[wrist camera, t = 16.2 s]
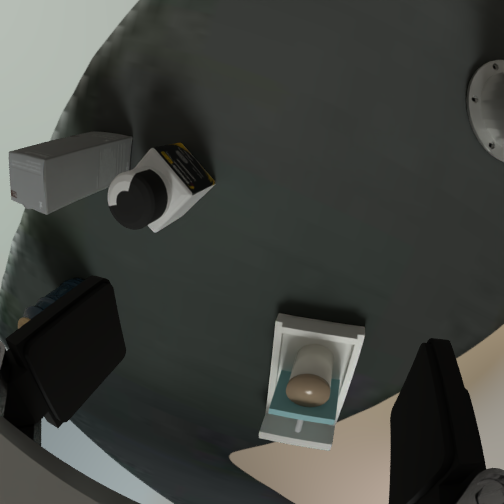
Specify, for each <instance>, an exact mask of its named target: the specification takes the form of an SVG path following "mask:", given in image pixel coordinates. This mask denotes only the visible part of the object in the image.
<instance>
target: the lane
mask: <svg viewBox="0 0 504 504" xmlns="http://www.w3.org/2000/svg"><path fill="white" fill-rule="evenodd" d="M364 337H365V327H362V326H355V325H349V324H342V323H336V322H329V321H323V320H317V319H311V318H305V317H299V316H293V315H287V314H281V313H279V314H278V316H277V319H276V322H275V332H274V342H273V352H272V361H271V371H270V380H269V389H268V397H267V406H266V414H265V417H264V420H263V423H262V426H261V428H260V431H259V438H262V439H267V440H271V441H276V442H281V443H286V444H291V445H297V446H302V447H308V448H314V449H321V450H328V451H329V450H330V448H331V446H332V442H333V435H334V428H335V424H336V422H337V419H338V416H339V414H340V411H341V408H342V405H343V403H344V400H345V397H346V394H347V391H348V388H349V385H350V382H351V379H352V376H353V373H354V370H355V367H356V364H357V361H358V357H359V354H360V351H361V347H362V344H363V341H364ZM308 344H319V345H323V346H325V347H327V348H328V349H329V350H330V351H331V352H332V354H333V356H334V363H333V371H332V378H331V379H337V380H340V385H339V394H338V402H337V411H336V418H335V422H334V425H329V424H322V423H316V422H310V421H303V425H302V429H301V432H295V427H296V423H297V419H293V418H288V417H283V416H278V415H273V414H268V412H269V407H270V404H271V401H272V398H273V395H274V392H275V389H276V386H277V382H278V379H279V376H280V373H281V370H285V371H290V372H292V368H293V365H294V361H295V358H296V354H297V352H298V350H299V349H300V348H301V347H303V346H305V345H308Z"/></svg>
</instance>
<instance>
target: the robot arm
mask: <svg viewBox="0 0 504 504" xmlns="http://www.w3.org/2000/svg"><path fill="white" fill-rule="evenodd" d="M493 67H494V69H493ZM472 98H473V99H474V101H472ZM466 103H467V113H468V117H469V122H470V124H471V127H472V130H473V132H474V134H475V136H476V137H477V139H478V141H479V142H480V144H481V145H482V146H483V148H484V149H485V150H486V151H487V152H488V153H489V154H490V155H492V156H493V157H495V158H496V159H498V160H500V161H502V162H504V60H494V61H490V62H487V63H485V64H483V65H482V66H481V67H479V68H478V69H477V70H476V72H475V73H474V74H473V76H472V78H471V80H470V82H469V85H468V89H467V98H466ZM489 143H490V147H489ZM6 341H7V344H8V346H9V348H10V349H8V350H7V351H6V349H5V346H4V344H3V343H2V342H1V341H0V504H140V503H138V502H135V501H133V500H131V499H129V498H127V497H125V496H123V495H121V494H119V493H117V492H115V491H113V490H111V489H109V488H107V487H106V486H104V485H102V484H100V483H98V482H96V481H95V480H93V479H91V478H89V477H88V476H86V475H84V474H83V473H81V472H79V471H78V470H76V469H74V468H73V467H71V466H70V465H68V464H66V463H65V462H63V461H62V460H60V459H59V458H57V457H56V456H54V455H53V454H51V453H50V452H48V451H47V450H45V449H44V448H43V447H41V419H42V418H43V417H45V418H46V420H47V421H48V422H49V423H51V424H52V425H54V426H55V427H57V428H59V427H60V426H61V424H62V423H63V422H67V421H68V420H69V419H70V418H71V417H72V416H73V415H74V414H75V412H76V411H77V410H78V409H79V408H80V407H81V406H82V404H83V403H84V402H85V401H86V400H87V399H88V398H89V397H90V395H91V394H92V393H93V392H94V391H95V390H96V389H97V388H98V386H99V385H100V384H101V383H102V382H103V381H104V380H105V379H106V377H107V376H108V375H109V374H110V373H111V372H112V371H113V370H114V368H115V367H116V366H117V365H118V364H119V363H120V362H121V361H122V360H123V358H124V356H125V353H126V347H125V343H124V338H123V334H122V329H121V325H120V320H119V315H118V310H117V305H116V300H115V294H114V289H113V286H112V285H111V284H110V282H109V280H108V279H105V278H102V277H98V276H90V277H89V278H87V279H86V280H84V281H83V282H81V283H80V284H79V285H77V286H76V287H74V288H73V289H72V290H70V291H69V292H67V293H66V294H65V295H63V296H62V297H60V298H59V299H58V300H56V301H55V302H54V303H52V304H51V305H49V306H48V307H47V308H45V309H44V310H43V311H41V312H40V313H39V314H37V315H36V316H35V317H33V318H32V319H31V320H29V321H28V322H27V323H25V324H24V325H23V326H21V327H20V328H19V329H18V330H16V331H15V332H14V333H12V334H11V335H10V336H9V337H7V338H6ZM390 423H391V425H390V426H391V463H390V464H391V465H390V491H389V504H504V470H502V469H498V468H490V469H486V466H485V460H484V455H483V449H482V445H481V440H480V435H479V431H478V427H477V423H476V418H475V414H474V410H473V406H472V403H471V399H470V395H469V393H468V390H466V389H465V387H464V384H463V380H462V377H461V374H460V370H459V367H458V364H457V361H456V358H455V355H454V351H453V348H452V345H451V343H450V341H449V340H443V339H433V338H431V339H429V340H428V342H427V343H422V344H421V346H420V348H419V350H418V353H417V355H416V358H415V360H414V363H413V365H412V367H411V370H410V372H409V374H408V376H407V379H406V381H405V383H404V385H403V387H402V389H401V392H400V394H399V396H398V398H397V400H396V402H395V404H394V406H393V408H392V411H391V417H390Z"/></svg>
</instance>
